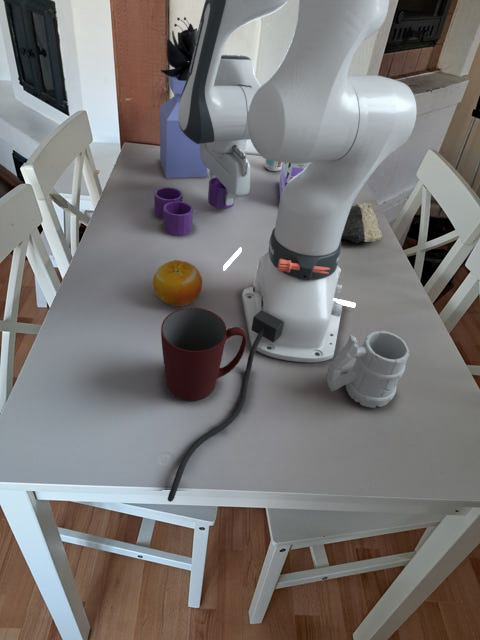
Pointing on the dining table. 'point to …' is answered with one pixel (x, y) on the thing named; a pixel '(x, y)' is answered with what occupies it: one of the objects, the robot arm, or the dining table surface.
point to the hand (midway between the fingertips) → (221, 196)
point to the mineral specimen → (362, 224)
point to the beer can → (273, 165)
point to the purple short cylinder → (217, 194)
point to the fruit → (177, 283)
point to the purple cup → (165, 199)
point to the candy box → (290, 173)
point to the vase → (174, 145)
